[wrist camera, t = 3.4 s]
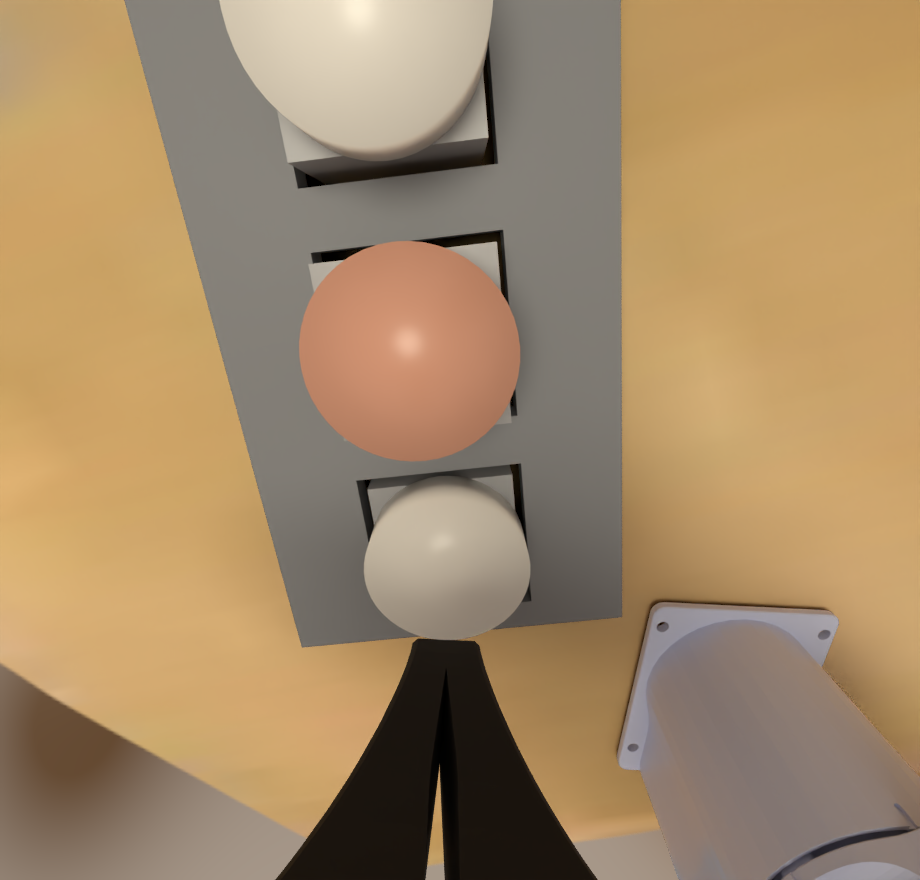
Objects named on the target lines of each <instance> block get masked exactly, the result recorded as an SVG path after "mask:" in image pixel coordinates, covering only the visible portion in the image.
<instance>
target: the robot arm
mask: <svg viewBox="0 0 920 880" xmlns="http://www.w3.org/2000/svg"><path fill="white" fill-rule="evenodd" d="M661 622H664V624H662V625H659V626H657V625H658V624H659V623H661ZM838 625H839V620H838V618H837V617H836V616H835V615H834V614H833V613H832V612H830V611H827V610H812V609H792V608H772V607H752V606H731V605H711V604H691V603H671V602H662V603H658V604H656V605H654V606H653V607H652V609H651V611H650V615H649V619H648V624H647V628H646V632H645V637H644V641H643V645H642V649H641V654H640V658H639V662H638V667H637V671H636V675H635V680H634V684H633V688H632V692H631V697H630V701H629V705H628V710H627V714H626V718H625V722H624V727H623V731H622V735H621V740H620V744H619V748H618V753H617V760H618V763H619V765H620V767H622V768H623V769H627V770H640V772H641V775H642V778H643V781H644V784H645V786H646V789H647V792H648V795H649V798H650V800H651V803H652V806H653V809H654V812H655V814H656V817H657V820H658V823H659V826H660V828H661V831H662V834H663V837H664V840H665V842H666V845H667V848H668V851H669V854H670V856H671V859H672V862H673V865H674V867H675V871H676V873H677V876H678V879H679V880H920V777H919V776H918V775H917V774H916V772H915V771H914V770H913V769H912V768H911V767H910V766H909V765H908V764H907V762H906V761H905V760H904V759H903V758H902V757H901V756H900V755H899V753H898V752H897V751H896V750H895V749H894V748H893V747H892V746H891V744H890V743H889V742H888V741H887V740H886V739H885V738H884V737H883V736H882V734H881V733H880V732H879V731H878V730H877V729H876V728H875V727H874V725H873V724H872V723H871V722H870V721H869V720H868V719H867V718H866V716H865V715H864V714H863V713H862V712H861V711H860V710H859V709H858V707H857V706H856V705H855V704H854V703H853V702H852V701H851V700H850V699H849V697H848V696H847V695H846V694H845V693H844V692H843V691H842V690H841V688H840V687H839V686H838V685H837V684H836V683H835V682H834V681H833V679H832V678H831V677H830V676H829V675H828V674H827V673H826V672H825V671H824V669H823V668H822V666H823V663H824V661H825V658H826V656H827V653H828V651H829V648H830V646H831V643H832V640H833V638H834V635H835V633H836V630H837V628H838ZM822 630H823V631H822ZM819 632H820V633H819ZM439 764H440V783H441V806H442V828H443V849H444V871H445V880H597V878H596V877H595V875H594V874H593V873H592V871H591V870H590V868H589V867H588V866H587V864H586V863H585V861H584V860H583V858H582V857H581V855H580V854H579V852H578V851H577V849H576V848H575V846H574V845H573V843H572V841H571V840H570V838H569V837H568V835H567V834H566V832H565V831H564V829H563V827H562V826H561V824H560V823H559V821H558V819H557V818H556V816H555V814H554V813H553V811H552V809H551V808H550V806H549V804H548V803H547V801H546V799H545V797H544V796H543V794H542V792H541V790H540V789H539V787H538V785H537V783H536V781H535V780H534V778H533V776H532V774H531V772H530V770H529V768H528V766H527V764H526V762H525V760H524V759H523V757H522V755H521V753H520V751H519V749H518V747H517V745H516V742H515V740H514V738H513V736H512V734H511V732H510V730H509V727H508V725H507V723H506V721H505V718H504V716H503V714H502V712H501V709H500V707H499V705H498V702H497V700H496V697H495V695H494V692H493V689H492V687H491V684H490V681H489V678H488V676H487V673H486V670H485V666H484V663H483V659H482V656H481V652H480V647H479V645H478V644H477V643H476V642H475V641H458V640H437V639H417V640H416V641H415V642H413V645H412V649H411V653H410V656H409V659H408V662H407V665H406V668H405V670H404V673H403V675H402V678H401V680H400V682H399V685H398V687H397V689H396V692H395V694H394V696H393V698H392V700H391V702H390V704H389V706H388V708H387V710H386V712H385V714H384V716H383V718H382V720H381V722H380V724H379V726H378V728H377V730H376V731H375V733H374V735H373V737H372V739H371V740H370V742H369V744H368V746H367V747H366V749H365V751H364V753H363V754H362V756H361V758H360V760H359V761H358V763H357V765H356V766H355V768H354V770H353V771H352V773H351V775H350V776H349V778H348V779H347V781H346V783H345V784H344V786H343V787H342V789H341V790H340V792H339V793H338V795H337V796H336V798H335V799H334V801H333V802H332V804H331V805H330V807H329V808H328V810H327V811H326V813H325V814H324V816H323V817H322V818H321V820H320V821H319V823H318V824H317V825H316V827H315V828H314V829H313V831H312V832H311V834H310V835H309V836H308V838H307V839H306V841H305V842H304V843H303V845H302V846H301V848H300V849H299V850H298V852H297V853H296V854H295V855H294V857H293V858H292V860H291V861H290V862H289V863H288V865H287V866H286V867H285V869H284V870H283V871H282V872H281V874H280V875H279V876H278V877H277V879H276V880H425V878H426V870H427V862H428V854H429V846H430V838H431V829H432V821H433V813H434V805H435V797H436V789H437V781H438V773H439Z"/></svg>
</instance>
